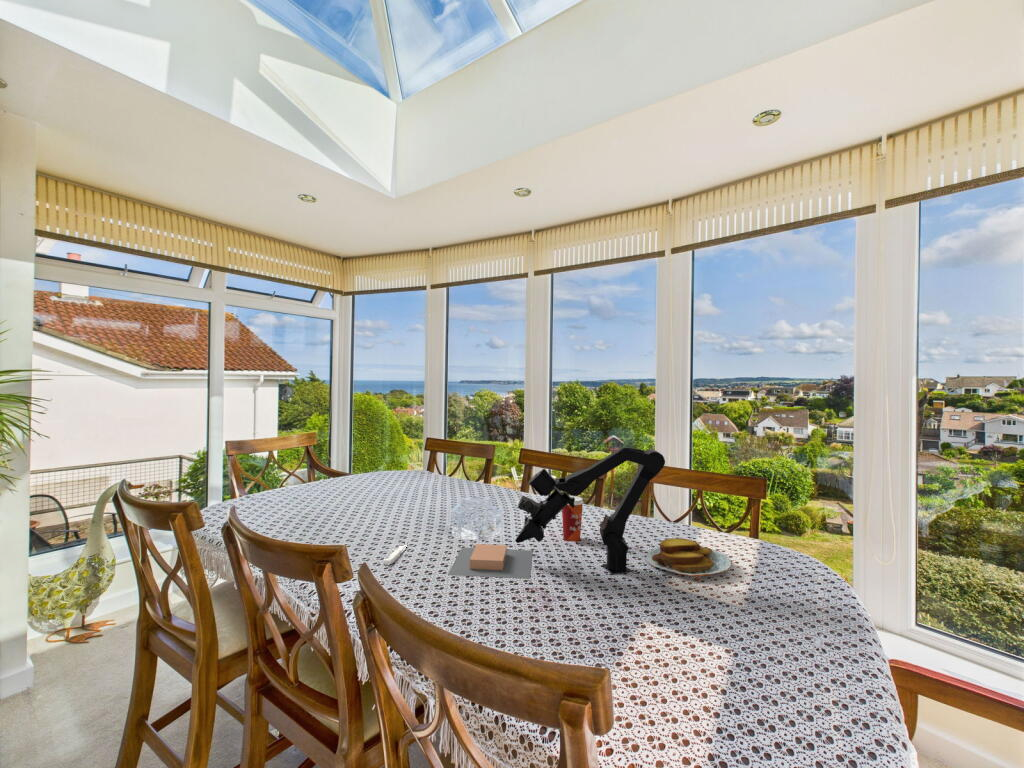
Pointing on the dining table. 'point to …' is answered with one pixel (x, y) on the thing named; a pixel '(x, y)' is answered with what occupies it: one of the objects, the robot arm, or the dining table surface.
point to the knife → (394, 555)
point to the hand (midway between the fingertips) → (516, 541)
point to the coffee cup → (572, 520)
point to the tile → (488, 557)
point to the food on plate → (688, 558)
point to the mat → (513, 568)
